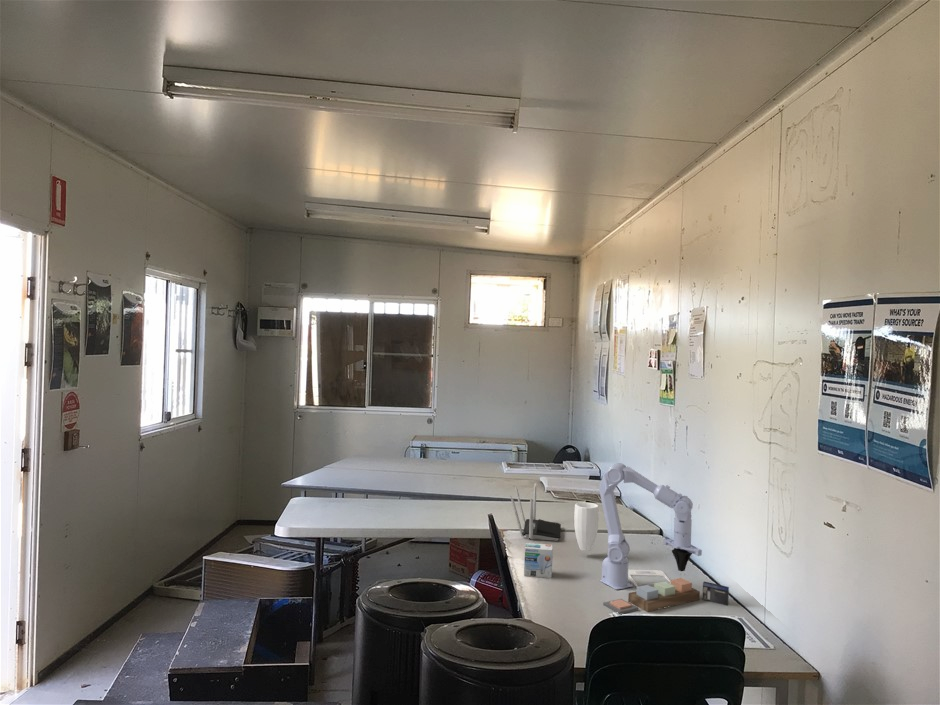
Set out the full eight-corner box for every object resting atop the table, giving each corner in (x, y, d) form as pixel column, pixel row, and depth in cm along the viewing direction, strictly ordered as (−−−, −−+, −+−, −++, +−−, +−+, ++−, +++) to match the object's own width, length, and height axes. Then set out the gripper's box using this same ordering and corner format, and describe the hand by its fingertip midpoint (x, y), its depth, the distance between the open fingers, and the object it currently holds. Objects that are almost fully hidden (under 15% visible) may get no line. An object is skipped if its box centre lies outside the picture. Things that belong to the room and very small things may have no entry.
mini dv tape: (702, 599, 214) (702, 582, 214) (703, 598, 215) (703, 581, 215) (727, 605, 209) (727, 588, 209) (728, 604, 211) (728, 586, 211)
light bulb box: (523, 576, 232) (524, 547, 231) (524, 570, 238) (525, 542, 238) (552, 578, 230) (552, 549, 230) (552, 572, 237) (553, 544, 237)
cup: (598, 561, 250) (599, 509, 250) (572, 559, 252) (573, 507, 252) (597, 553, 260) (599, 503, 260) (573, 551, 262) (574, 501, 262)
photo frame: (661, 570, 241) (677, 587, 223) (661, 572, 241) (677, 590, 223) (624, 568, 241) (637, 586, 223) (624, 571, 241) (637, 589, 223)
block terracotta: (670, 591, 217) (670, 580, 217) (680, 589, 219) (680, 578, 219) (681, 596, 212) (681, 585, 212) (691, 594, 215) (691, 582, 215)
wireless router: (560, 546, 269) (561, 500, 269) (507, 542, 273) (509, 497, 273) (560, 525, 302) (562, 484, 302) (514, 521, 306) (515, 481, 306)
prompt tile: (603, 604, 207) (603, 600, 207) (621, 601, 211) (621, 596, 211) (619, 614, 200) (619, 610, 200) (637, 610, 204) (637, 605, 204)
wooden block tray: (628, 601, 210) (628, 593, 210) (679, 590, 222) (679, 582, 222) (647, 612, 202) (647, 602, 202) (699, 599, 214) (699, 591, 214)
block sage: (653, 595, 213) (654, 583, 213) (664, 592, 215) (664, 581, 215) (664, 600, 208) (664, 588, 208) (675, 597, 211) (675, 586, 211)
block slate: (636, 598, 209) (636, 587, 209) (647, 596, 211) (647, 584, 211) (646, 604, 205) (647, 592, 205) (657, 601, 207) (658, 590, 207)
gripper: (658, 528, 219) (657, 565, 219) (693, 539, 207) (691, 579, 207) (671, 525, 223) (670, 562, 223) (705, 536, 211) (704, 575, 211)
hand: (681, 570), depth 216 cm, fingers closed
